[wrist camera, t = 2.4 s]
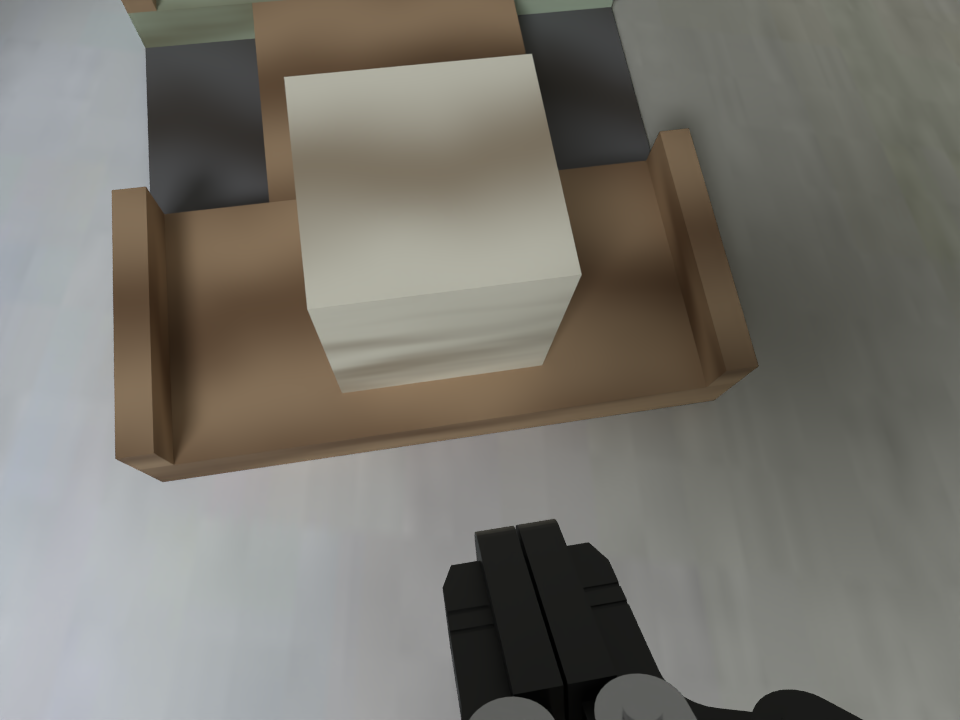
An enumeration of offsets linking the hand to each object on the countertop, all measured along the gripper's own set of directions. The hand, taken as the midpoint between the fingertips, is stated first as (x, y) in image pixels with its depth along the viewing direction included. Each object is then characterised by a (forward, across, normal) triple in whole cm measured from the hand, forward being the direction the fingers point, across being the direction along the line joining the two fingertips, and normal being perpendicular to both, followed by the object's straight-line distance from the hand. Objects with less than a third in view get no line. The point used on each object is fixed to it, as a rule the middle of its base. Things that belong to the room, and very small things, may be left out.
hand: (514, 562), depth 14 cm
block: (+17, 0, +1) cm, 17 cm away
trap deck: (+25, 0, -4) cm, 26 cm away
